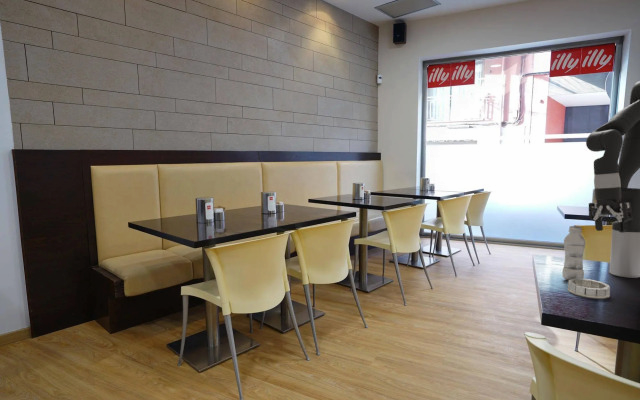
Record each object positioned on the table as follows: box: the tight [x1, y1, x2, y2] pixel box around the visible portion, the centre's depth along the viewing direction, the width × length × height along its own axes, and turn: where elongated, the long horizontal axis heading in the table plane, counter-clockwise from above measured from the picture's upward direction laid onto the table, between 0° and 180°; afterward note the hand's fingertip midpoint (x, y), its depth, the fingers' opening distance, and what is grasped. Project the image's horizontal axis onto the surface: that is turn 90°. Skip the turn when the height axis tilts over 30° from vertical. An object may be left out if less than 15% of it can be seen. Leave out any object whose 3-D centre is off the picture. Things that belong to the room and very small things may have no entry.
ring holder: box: [567, 278, 611, 300], centre depth 125 cm, size 11×11×3 cm
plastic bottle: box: [561, 225, 586, 281], centre depth 137 cm, size 6×7×20 cm
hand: (610, 231), depth 135 cm, fingers open, 8 cm apart
